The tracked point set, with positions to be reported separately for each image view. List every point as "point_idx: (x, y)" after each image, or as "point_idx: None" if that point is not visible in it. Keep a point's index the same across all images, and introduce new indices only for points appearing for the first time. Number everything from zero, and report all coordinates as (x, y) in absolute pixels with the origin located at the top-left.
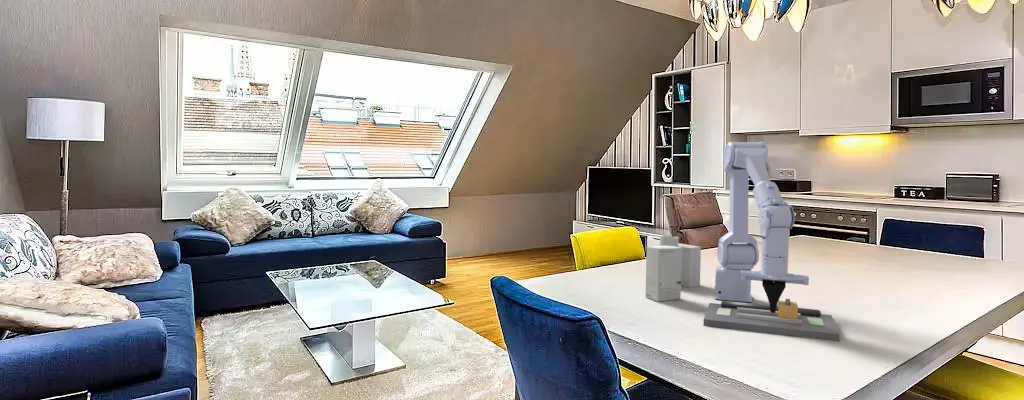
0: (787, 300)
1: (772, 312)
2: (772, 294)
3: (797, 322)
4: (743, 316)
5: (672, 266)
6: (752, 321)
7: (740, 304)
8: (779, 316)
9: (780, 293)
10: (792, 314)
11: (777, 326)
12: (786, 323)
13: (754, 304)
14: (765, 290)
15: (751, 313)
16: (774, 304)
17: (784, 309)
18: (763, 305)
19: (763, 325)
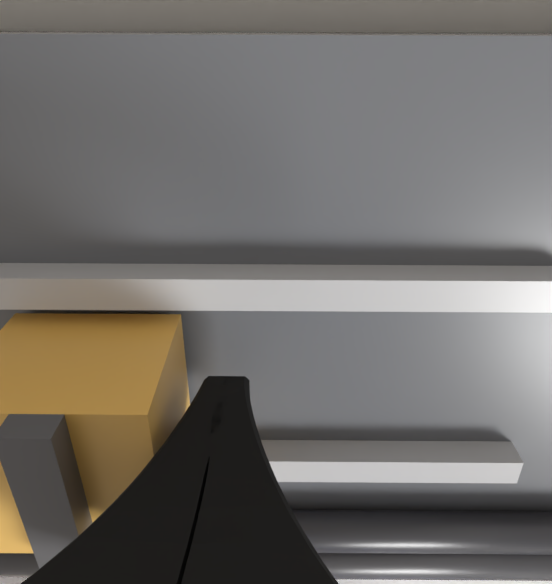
0: (55, 527)
1: (229, 377)
2: (209, 528)
3: (3, 269)
4: (504, 271)
5: None
6: (425, 171)
7: (484, 538)
8: (165, 330)
9: (77, 548)
10: (32, 348)
11: (171, 73)
12: (100, 231)
13: (371, 566)
14: (323, 577)
15: (401, 422)
16: (200, 428)
17: (96, 377)
18: None
19: (320, 49)
